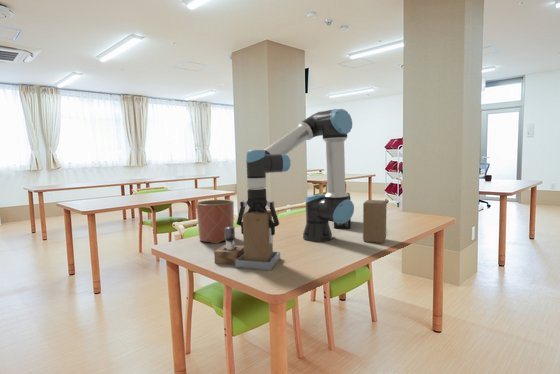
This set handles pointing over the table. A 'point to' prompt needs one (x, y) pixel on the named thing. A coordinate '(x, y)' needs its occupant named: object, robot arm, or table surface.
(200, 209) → the planter
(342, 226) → the box
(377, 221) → the block
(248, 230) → the wooden block
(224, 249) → the block
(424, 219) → the table surface
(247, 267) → the tray
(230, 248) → the cylinder
